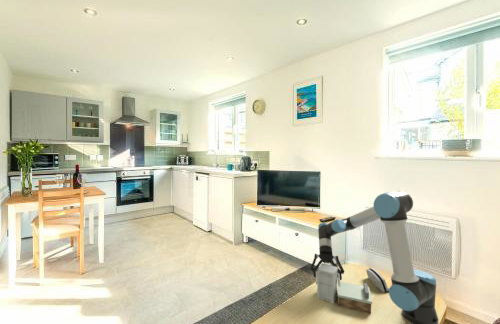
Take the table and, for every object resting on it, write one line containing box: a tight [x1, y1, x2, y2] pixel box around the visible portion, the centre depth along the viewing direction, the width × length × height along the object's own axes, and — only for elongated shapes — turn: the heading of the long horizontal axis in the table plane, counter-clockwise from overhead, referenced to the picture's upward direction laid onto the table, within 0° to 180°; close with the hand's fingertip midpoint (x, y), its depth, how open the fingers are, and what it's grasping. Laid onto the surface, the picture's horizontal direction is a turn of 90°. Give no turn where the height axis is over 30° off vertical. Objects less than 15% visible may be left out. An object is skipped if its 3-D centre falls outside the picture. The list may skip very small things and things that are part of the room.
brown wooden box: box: [337, 296, 372, 314], centre depth 135 cm, size 16×14×5 cm
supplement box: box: [316, 262, 339, 304], centre depth 140 cm, size 10×9×17 cm
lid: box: [337, 281, 373, 305], centre depth 135 cm, size 17×15×4 cm
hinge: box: [365, 267, 390, 293], centre depth 153 cm, size 17×5×10 cm, turn 4°
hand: (328, 284), depth 137 cm, fingers closed on supplement box, 12 cm apart
